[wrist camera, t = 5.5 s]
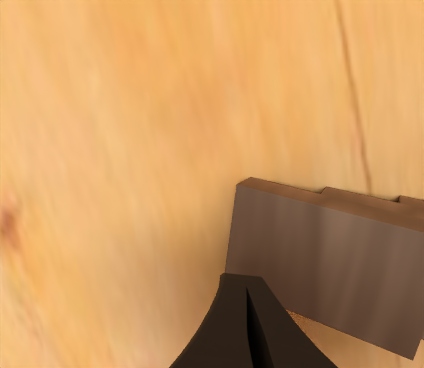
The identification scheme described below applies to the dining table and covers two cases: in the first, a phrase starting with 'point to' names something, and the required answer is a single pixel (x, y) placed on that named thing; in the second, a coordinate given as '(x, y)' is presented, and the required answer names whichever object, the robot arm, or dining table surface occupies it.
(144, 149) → the dining table surface
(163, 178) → the dining table surface
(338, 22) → the dining table surface
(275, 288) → the domino
